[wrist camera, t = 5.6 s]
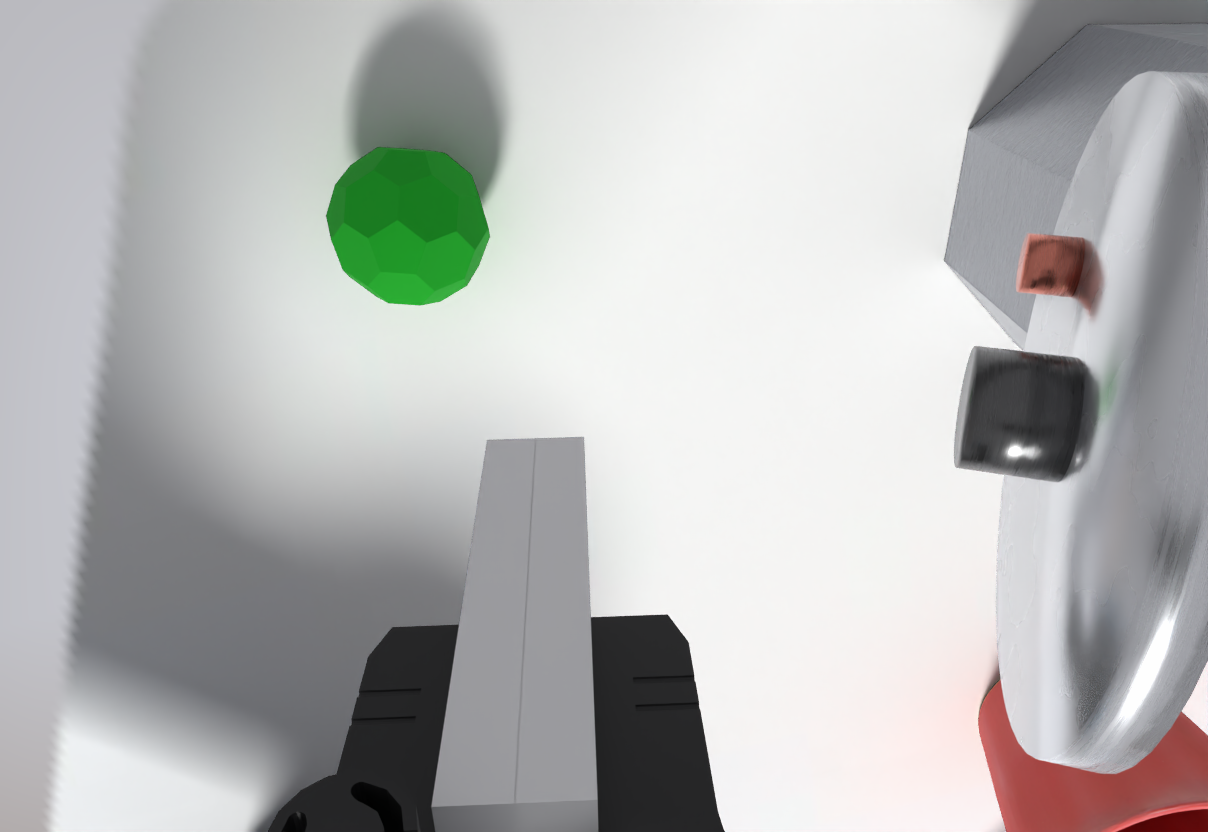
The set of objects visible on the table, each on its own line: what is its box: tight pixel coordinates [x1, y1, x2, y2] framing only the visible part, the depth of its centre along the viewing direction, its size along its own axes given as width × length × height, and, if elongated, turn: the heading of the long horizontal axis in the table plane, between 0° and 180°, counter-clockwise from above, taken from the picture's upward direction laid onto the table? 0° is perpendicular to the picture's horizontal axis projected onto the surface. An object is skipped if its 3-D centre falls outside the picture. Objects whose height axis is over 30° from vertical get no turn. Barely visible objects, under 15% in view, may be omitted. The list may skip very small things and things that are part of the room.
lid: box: [954, 71, 1208, 774], centre depth 17 cm, size 13×12×3 cm
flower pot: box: [978, 679, 1208, 832], centre depth 39 cm, size 11×11×10 cm
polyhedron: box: [326, 147, 490, 305], centre depth 28 cm, size 5×5×5 cm
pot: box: [944, 23, 1208, 351], centre depth 27 cm, size 11×15×9 cm
